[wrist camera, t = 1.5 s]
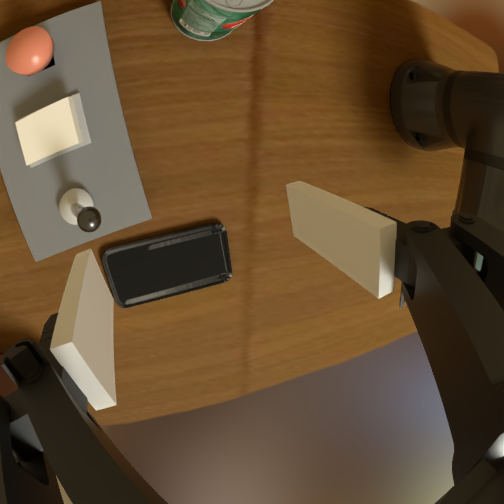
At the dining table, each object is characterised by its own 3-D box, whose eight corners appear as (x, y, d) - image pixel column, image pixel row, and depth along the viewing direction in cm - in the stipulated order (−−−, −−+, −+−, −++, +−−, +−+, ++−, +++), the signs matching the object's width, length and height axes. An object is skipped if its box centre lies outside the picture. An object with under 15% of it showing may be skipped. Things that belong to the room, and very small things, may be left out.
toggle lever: (81, 194, 27) (99, 203, 21) (87, 213, 28) (107, 228, 22) (62, 203, 26) (75, 214, 20) (69, 221, 27) (84, 239, 21)
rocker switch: (73, 96, 22) (67, 96, 21) (84, 141, 25) (79, 143, 23) (22, 121, 22) (15, 122, 21) (33, 162, 24) (26, 165, 23)
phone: (233, 279, 41) (118, 310, 36) (230, 276, 42) (118, 305, 37) (225, 221, 37) (99, 252, 33) (222, 218, 38) (100, 248, 34)
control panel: (102, 10, 23) (100, -2, 20) (150, 210, 34) (152, 220, 31) (-12, 59, 20) (-25, 53, 16) (41, 251, 31) (34, 265, 28)
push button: (58, 32, 21) (47, 18, 16) (64, 69, 23) (53, 60, 19) (19, 49, 20) (3, 39, 15) (25, 86, 22) (8, 81, 17)
